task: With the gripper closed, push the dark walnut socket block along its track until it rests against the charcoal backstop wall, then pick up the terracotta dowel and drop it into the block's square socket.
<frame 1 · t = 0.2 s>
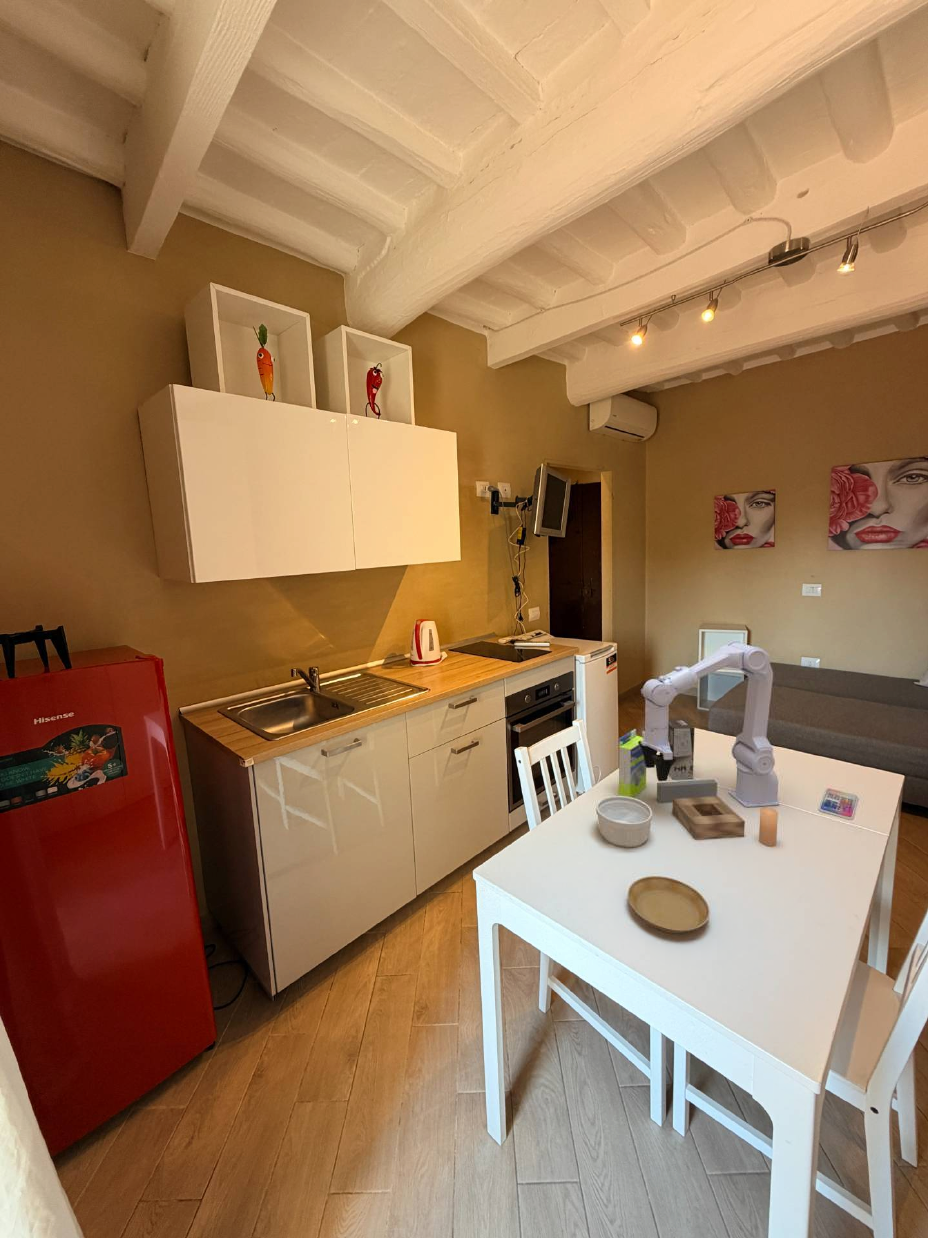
hand: (656, 773, 132), 10 cm above the table, fingers open, 7 cm apart
box: (632, 792, 142), on the table
dowel: (767, 842, 116), on the table
backstop wall: (686, 799, 137), on the table
ramekin: (623, 835, 122), on the table
plant saucer: (667, 913, 97), on the table
coffee box: (677, 773, 153), on the table
smartphone: (838, 806, 131), on the table
socket block: (706, 817, 124), point 2 cm above the table, slide at 5.0 cm
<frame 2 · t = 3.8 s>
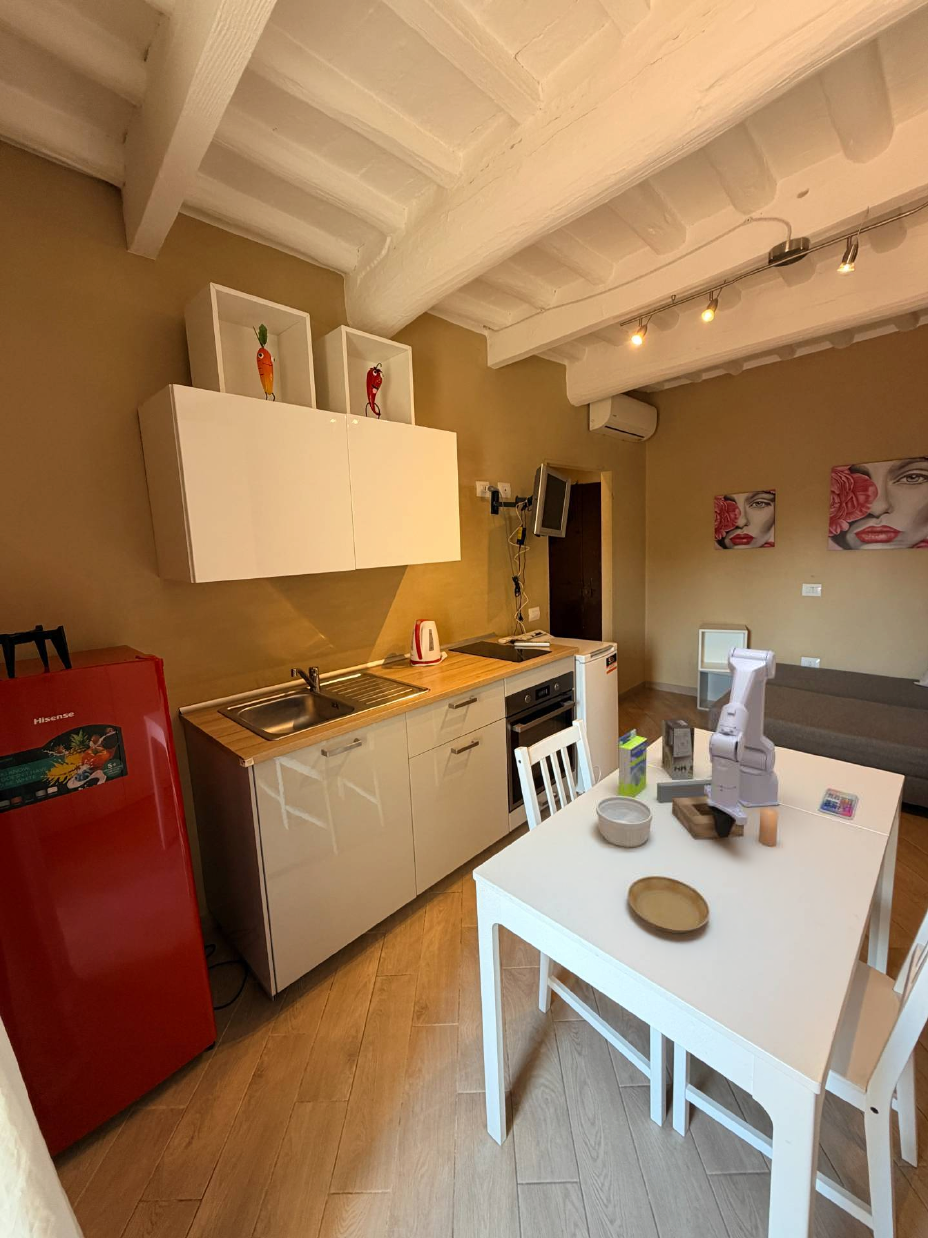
hand: (722, 836, 117), 1 cm above the table, fingers closed
socket block: (706, 816, 125), point 2 cm above the table, slide at 4.8 cm, touching gripper
everything else where it was.
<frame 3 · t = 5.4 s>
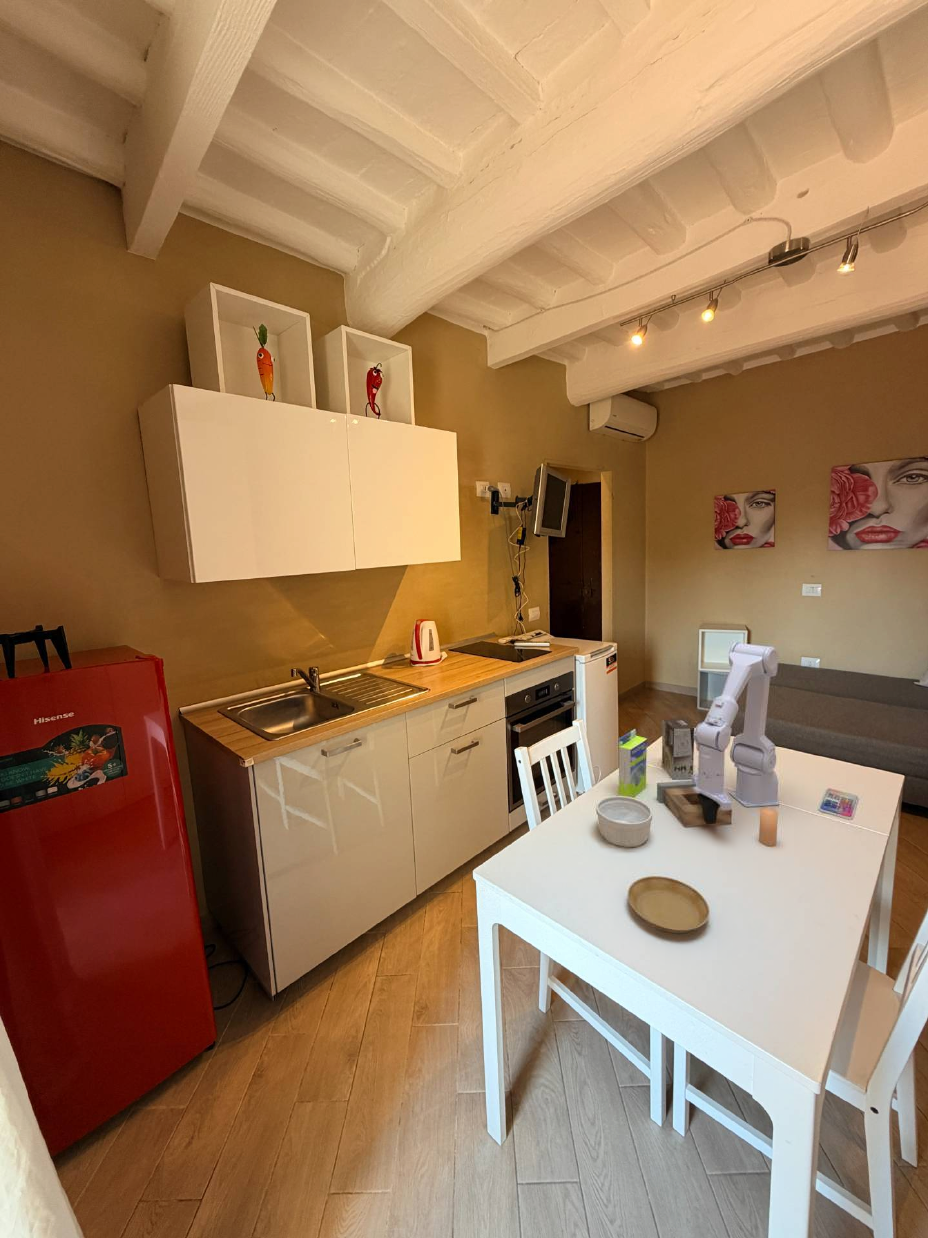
hand: (709, 822, 123), 1 cm above the table, fingers closed, pressing on socket block
socket block: (696, 806, 130), point 2 cm above the table, slide at -0.3 cm, touching backstop wall, gripper
everything else where it was.
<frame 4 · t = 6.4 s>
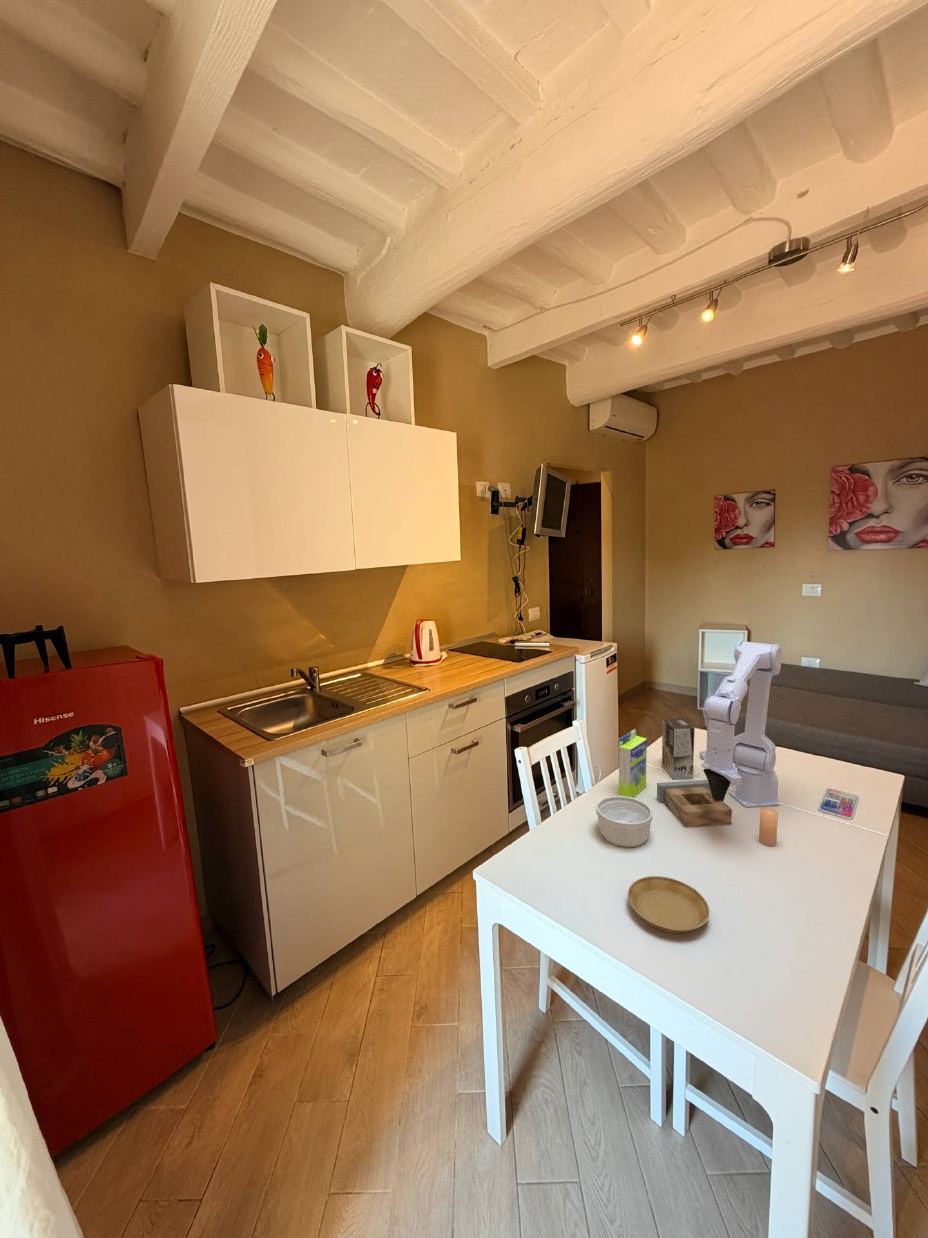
hand: (718, 799, 119), 9 cm above the table, fingers closed
socket block: (696, 806, 130), point 2 cm above the table, slide at -0.3 cm, touching backstop wall
everything else where it was.
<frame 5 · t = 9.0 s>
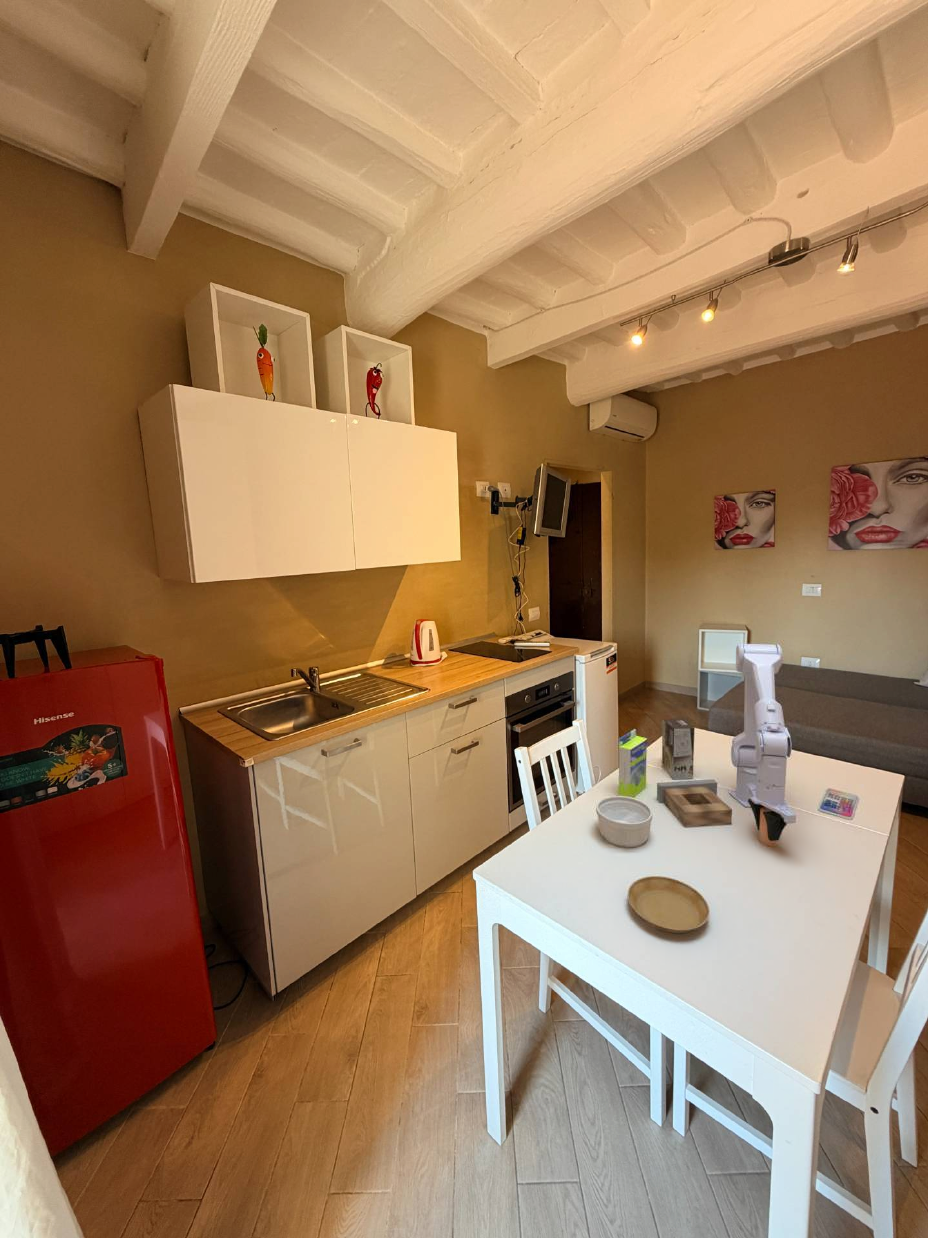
hand: (767, 834, 116), 2 cm above the table, fingers closed on dowel, 3 cm apart
dowel: (767, 842, 116), on the table, touching gripper
everything else where it was.
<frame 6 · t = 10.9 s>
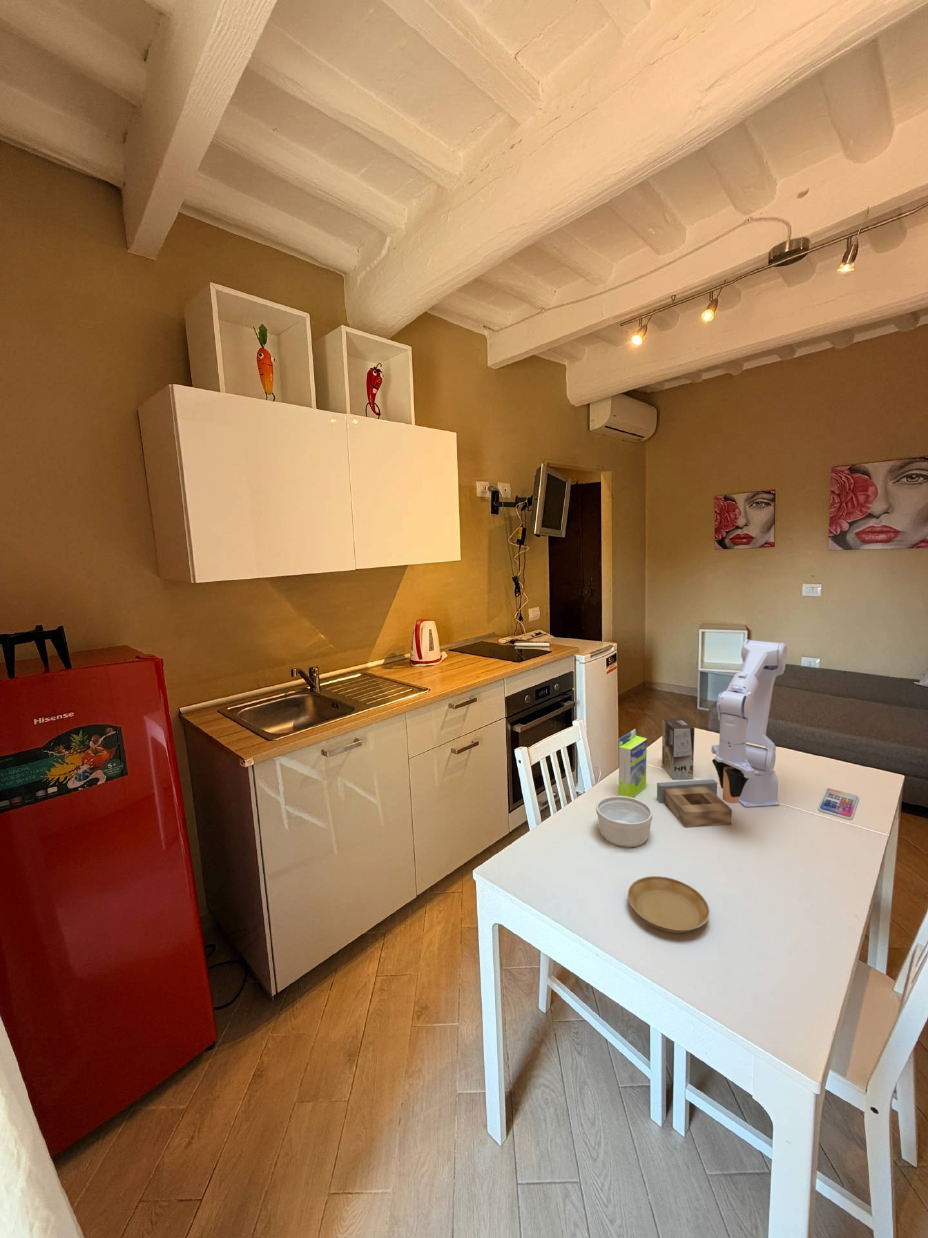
hand: (730, 792, 122), 9 cm above the table, fingers closed on dowel, 3 cm apart
dowel: (730, 799, 122), point 7 cm above the table, touching gripper
everything else where it was.
when the fingers open (5 cm above the table, at t = 12.9 s): dowel drops 2 cm, resting on socket block.
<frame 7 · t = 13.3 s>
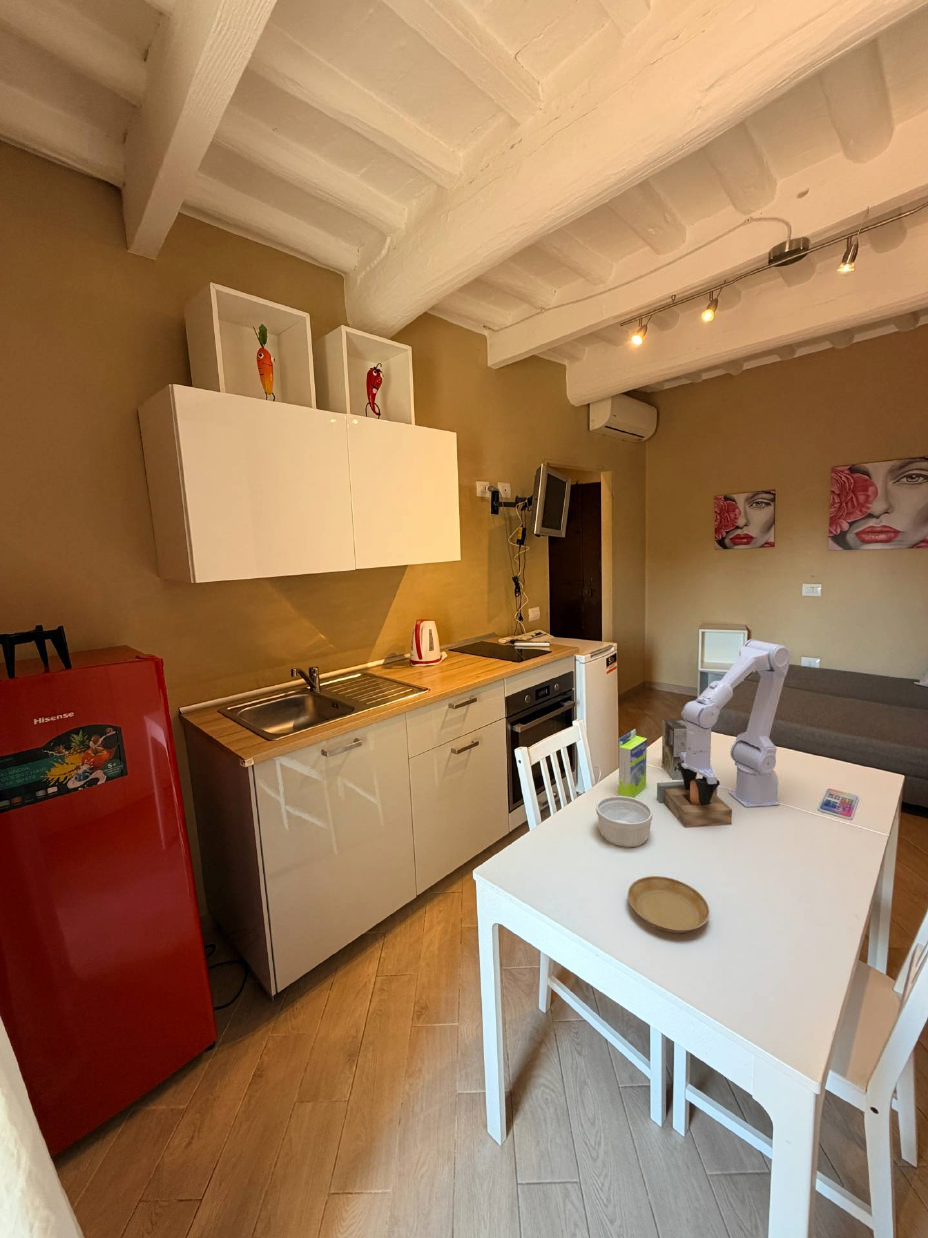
hand: (696, 796, 129), 5 cm above the table, fingers open, 7 cm apart
dowel: (696, 811, 130), point 1 cm above the table, touching socket block
socket block: (696, 806, 130), point 2 cm above the table, slide at -0.3 cm, touching dowel
everything else where it was.
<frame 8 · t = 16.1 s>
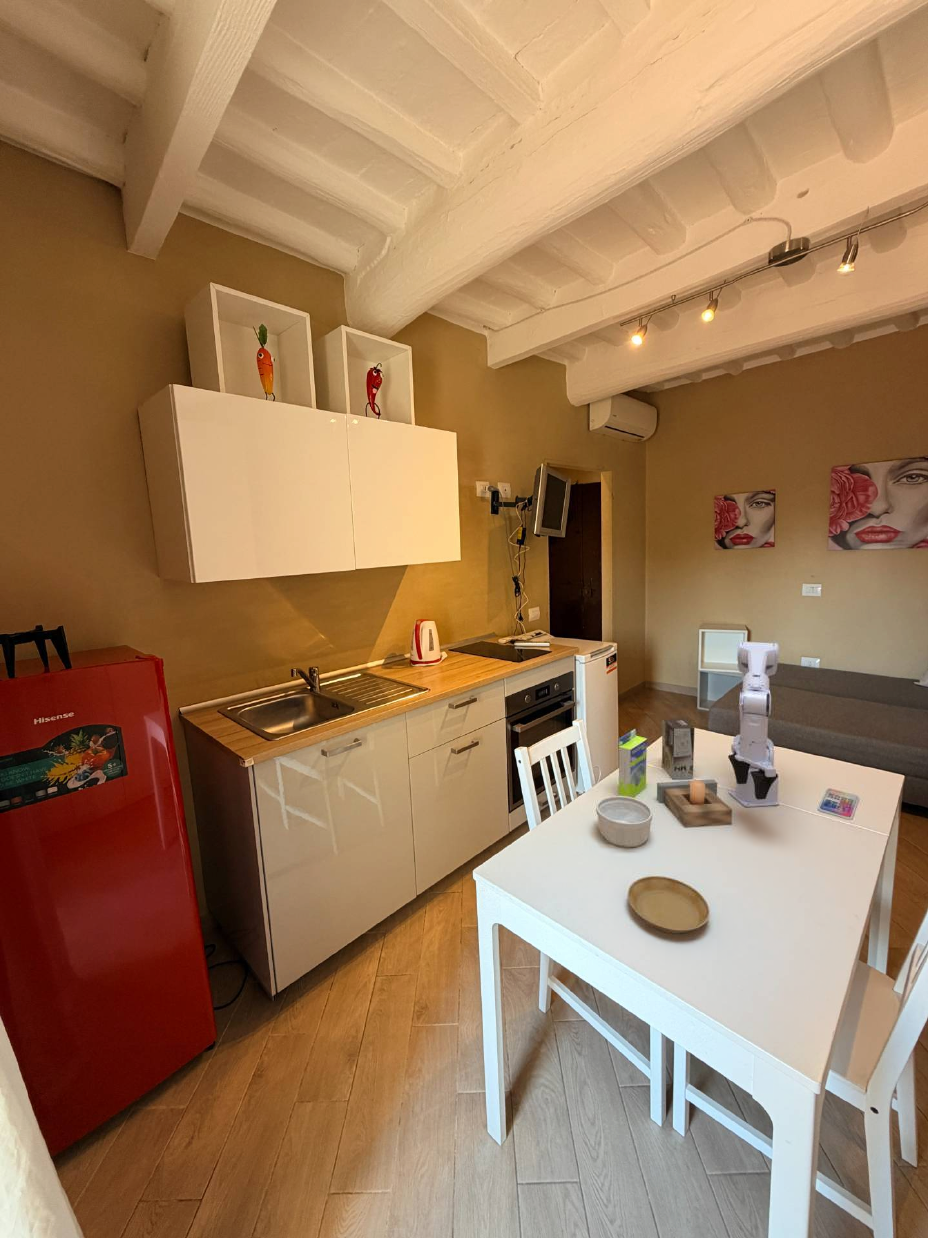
hand: (750, 790, 122), 9 cm above the table, fingers open, 7 cm apart
nothing on the table moved.
at the end: dowel 0.2 cm off-centre on the socket block, point 0.5 cm above the socket block's base; dowel tilted 2°; socket block slide at -0.3 cm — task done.
